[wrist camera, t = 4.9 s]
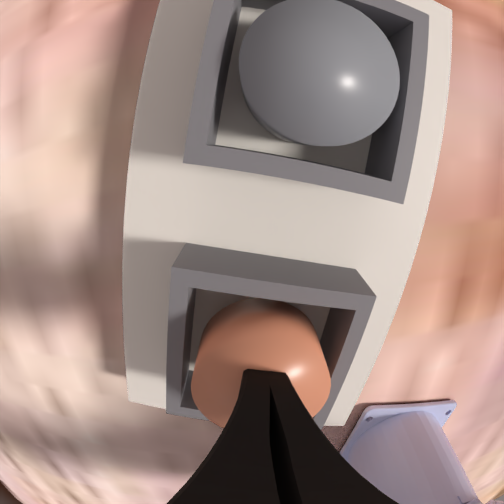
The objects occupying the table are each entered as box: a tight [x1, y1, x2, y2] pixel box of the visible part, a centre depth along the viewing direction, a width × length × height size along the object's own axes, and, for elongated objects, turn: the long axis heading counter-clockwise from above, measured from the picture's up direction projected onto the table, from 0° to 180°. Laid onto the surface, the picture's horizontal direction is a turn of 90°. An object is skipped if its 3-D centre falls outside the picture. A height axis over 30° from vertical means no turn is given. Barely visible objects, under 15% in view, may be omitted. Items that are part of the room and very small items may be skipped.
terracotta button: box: [191, 298, 331, 428], centre depth 11 cm, size 5×5×2 cm
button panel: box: [122, 0, 452, 429], centre depth 12 cm, size 22×12×4 cm, turn 171°
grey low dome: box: [239, 0, 400, 146], centre depth 9 cm, size 5×5×2 cm
